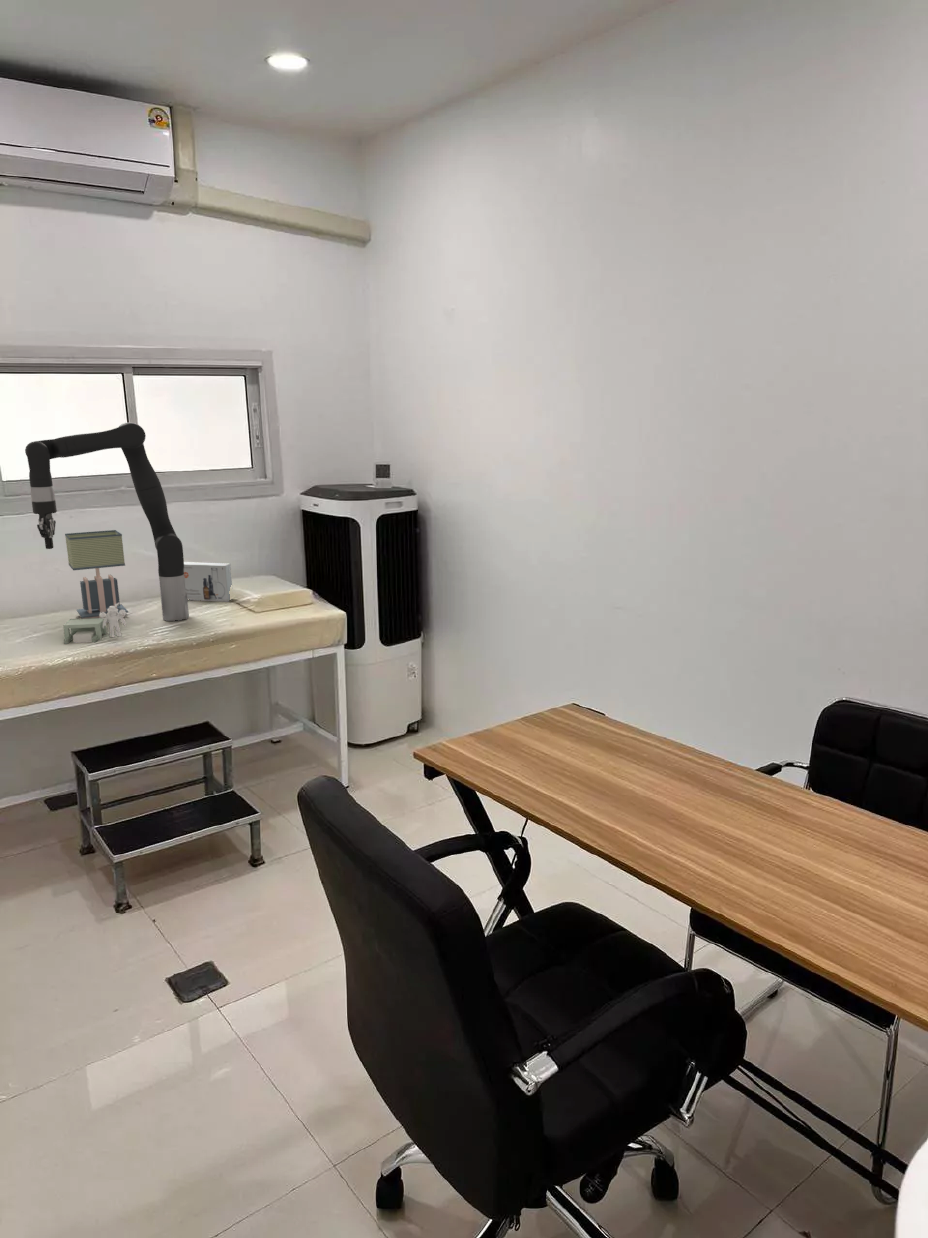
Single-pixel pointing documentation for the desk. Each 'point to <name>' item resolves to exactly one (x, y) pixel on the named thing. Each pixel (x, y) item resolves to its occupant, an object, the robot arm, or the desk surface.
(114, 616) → the hat wearing toy figure
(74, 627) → the shelf
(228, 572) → the skincare box
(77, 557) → the desk lamp
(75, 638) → the cover plate
